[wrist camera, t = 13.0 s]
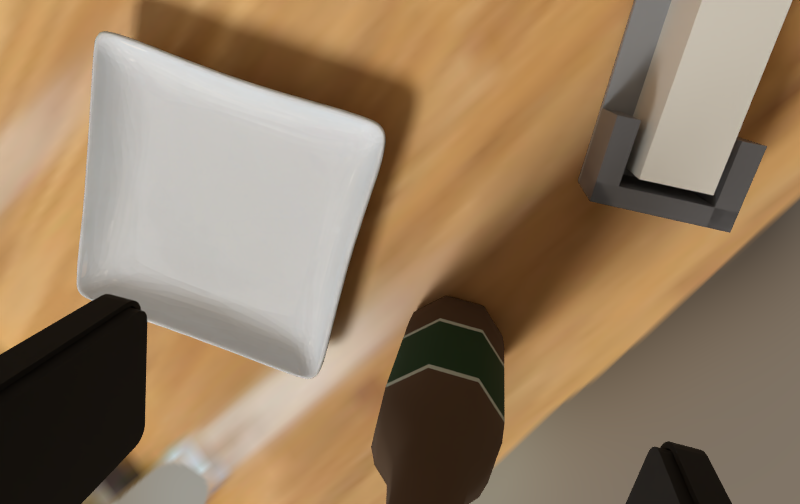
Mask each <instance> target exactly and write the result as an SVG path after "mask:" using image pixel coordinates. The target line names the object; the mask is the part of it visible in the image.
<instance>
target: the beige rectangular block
mask: <svg viewBox="0 0 800 504" xmlns="http://www.w3.org/2000/svg"><path fill="white" fill-rule="evenodd" d="M791 3H792V0H671V3H670V6H669V9H668V12H667V15H666V18H665V21H664V24H663V27H662V30H661V33H660V36H659V39H658V42H657V45H656V48H655V51H654V54H653V57H652V60H651V63H650V66H649V69H648V72H647V75H646V78H645V81H644V84H643V87H642V90H641V93H640V96H639V99H638V102H637V105H636V108H635V111H634V114H633V117H635V118H637V119H639V120H641V123H640V126H639V129H638V132H637V135H636V137H635V140H634V143H633V146H632V149H631V152H630V155H629V158H628V161H627V164H626V168H627V169H628V170H629V171H630V172H631V173H633V174H634V175H635V176H636V177H637V178H638V179H640V180H645V181H649V182H654V183H659V184H663V185H668V186H672V187H677V188H682V189H686V190H691V191H696V192H700V193H705V194H709V195H714V193H715V190H716V188H717V185H718V183H719V180H720V178H721V175H722V173H723V170H724V168H725V165H726V163H727V161H728V158H729V156H730V153H731V151H732V148H733V146H734V143H735V141H736V138H737V136H738V133H739V131H740V128H741V126H742V124H743V121H744V119H745V116H746V114H747V111H748V109H749V106H750V104H751V101H752V99H753V96H754V94H755V91H756V89H757V87H758V84H759V82H760V79H761V77H762V74H763V72H764V69H765V67H766V64H767V62H768V59H769V57H770V54H771V52H772V50H773V47H774V45H775V42H776V40H777V37H778V35H779V32H780V30H781V27H782V25H783V22H784V20H785V17H786V15H787V13H788V10H789V8H790V5H791Z"/></svg>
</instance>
